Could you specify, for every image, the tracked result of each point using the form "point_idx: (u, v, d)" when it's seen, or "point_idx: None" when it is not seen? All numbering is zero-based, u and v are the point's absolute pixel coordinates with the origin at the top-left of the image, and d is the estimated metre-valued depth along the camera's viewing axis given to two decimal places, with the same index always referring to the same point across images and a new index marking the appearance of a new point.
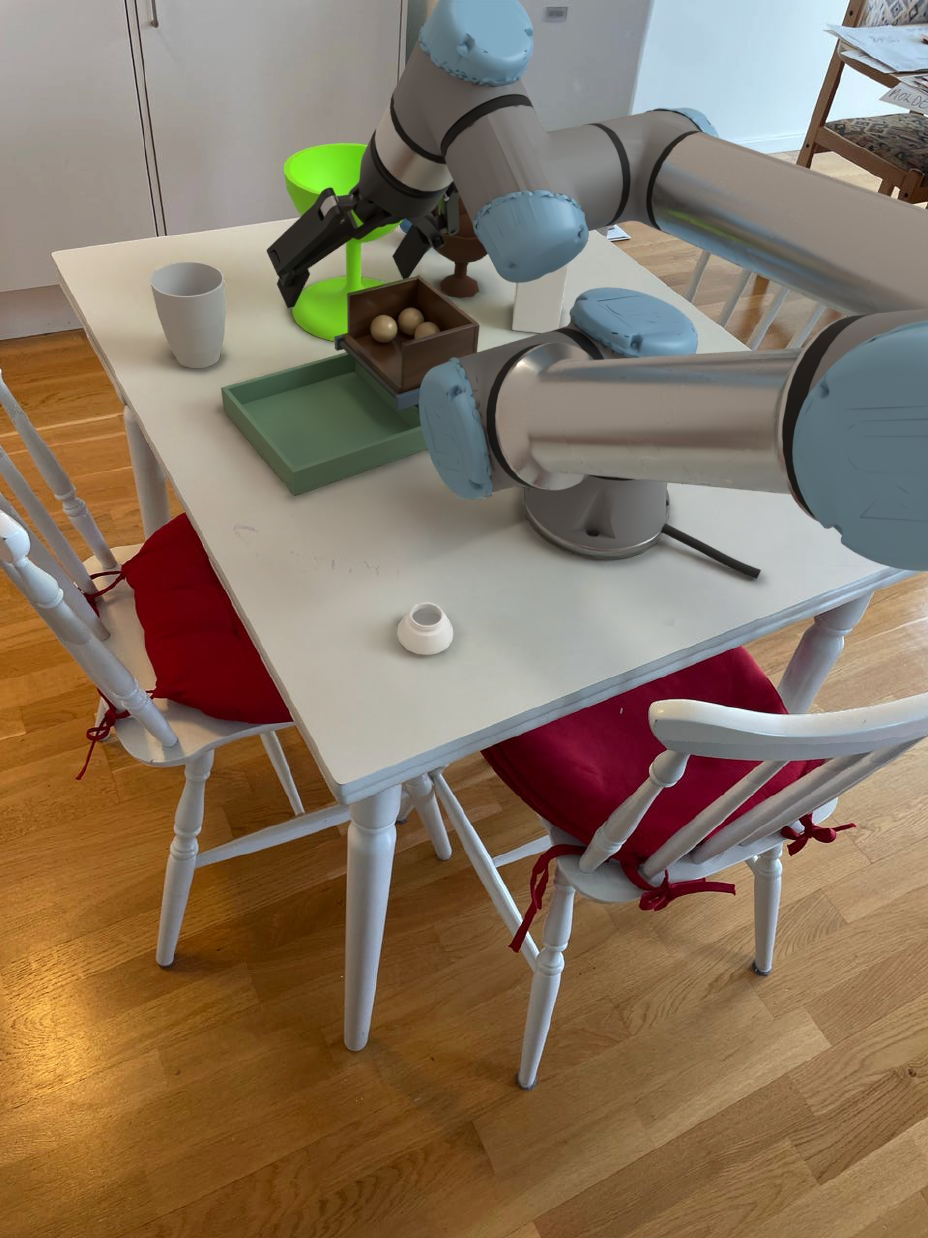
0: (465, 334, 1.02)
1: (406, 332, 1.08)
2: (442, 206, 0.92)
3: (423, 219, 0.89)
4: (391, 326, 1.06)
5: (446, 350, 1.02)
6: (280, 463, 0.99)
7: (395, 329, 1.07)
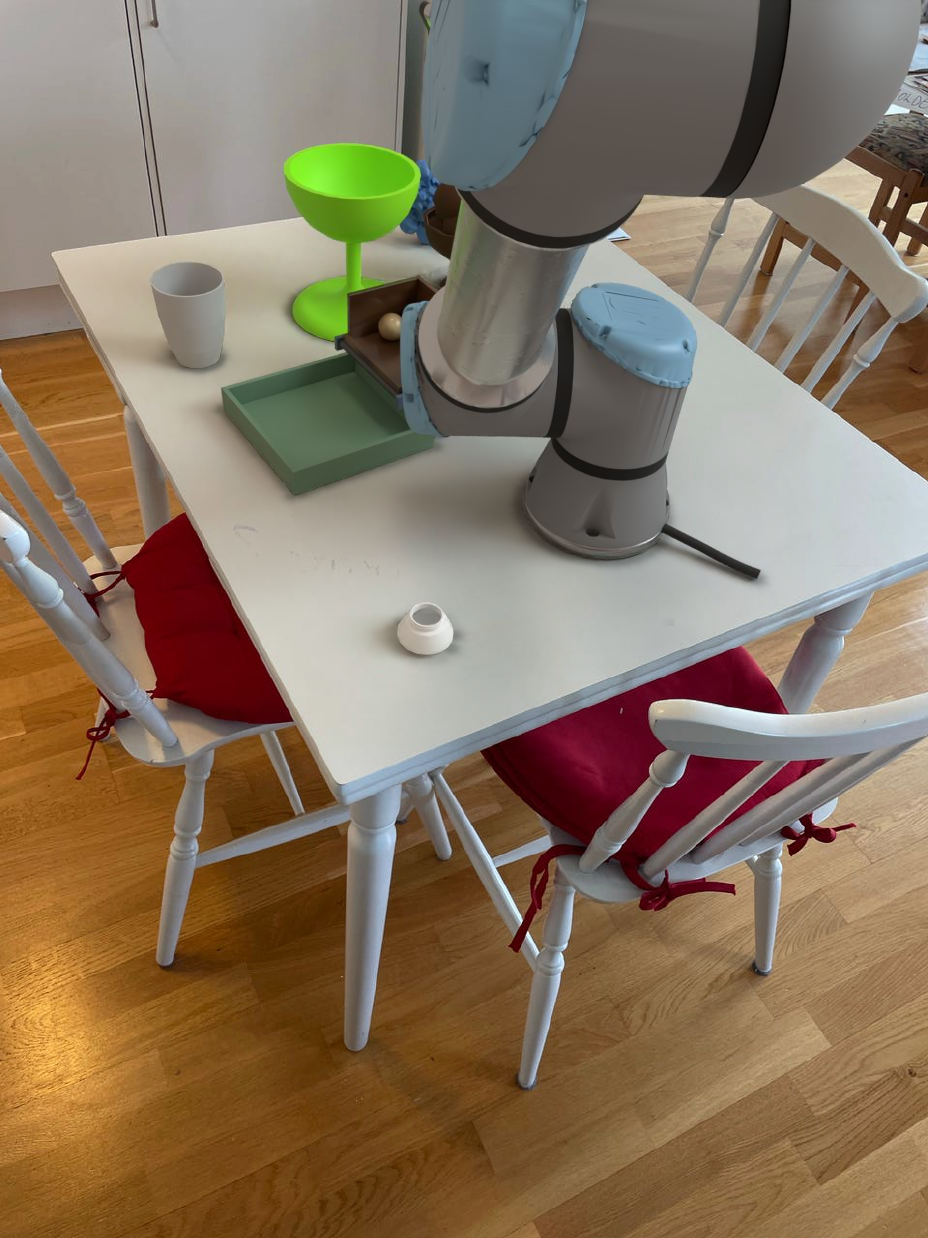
0: None
1: None
2: None
3: None
4: None
5: None
6: (280, 463, 0.99)
7: None
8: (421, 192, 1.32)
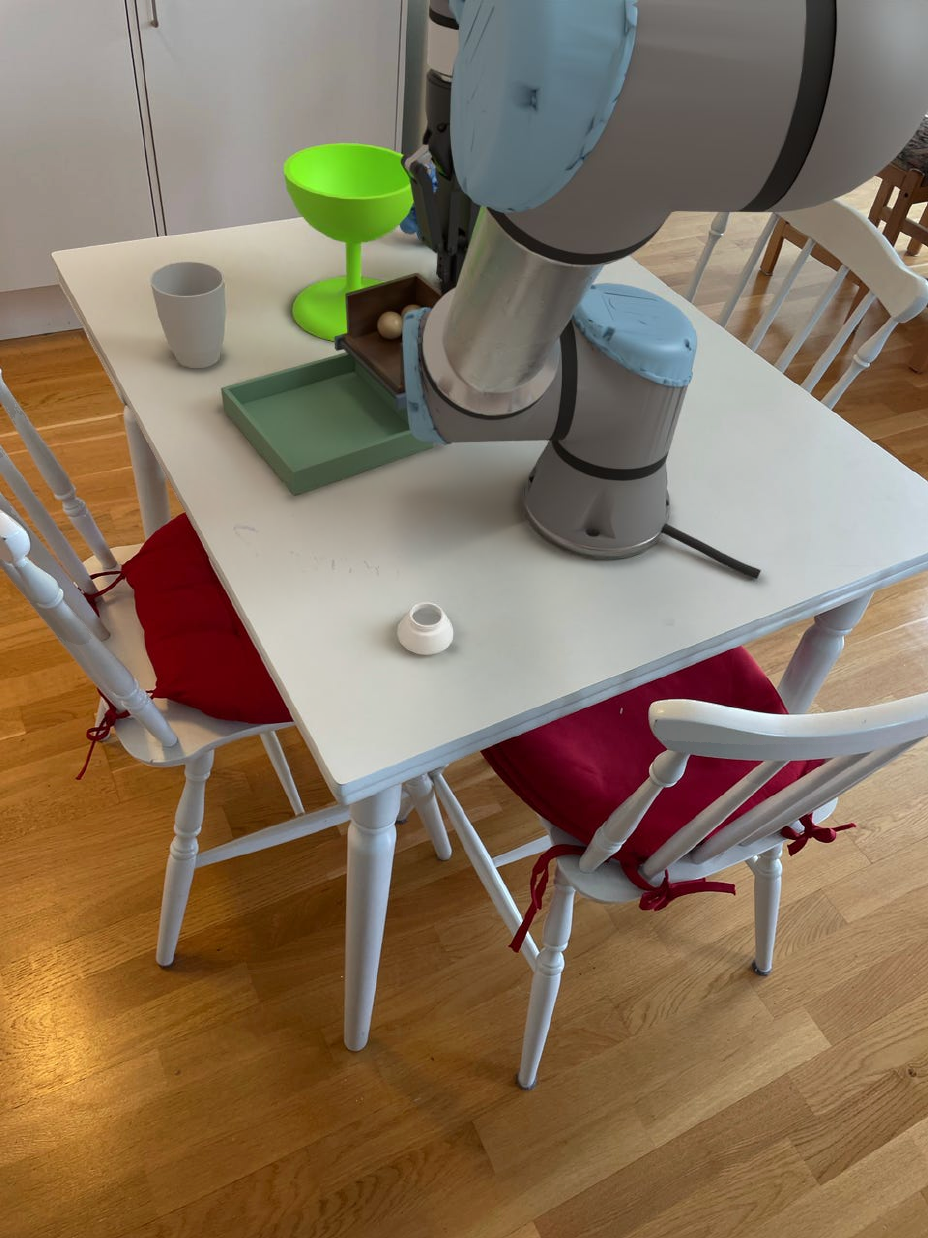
0: None
1: None
2: None
3: None
4: (401, 324, 1.07)
5: None
6: (280, 463, 0.99)
7: (402, 329, 1.07)
8: None
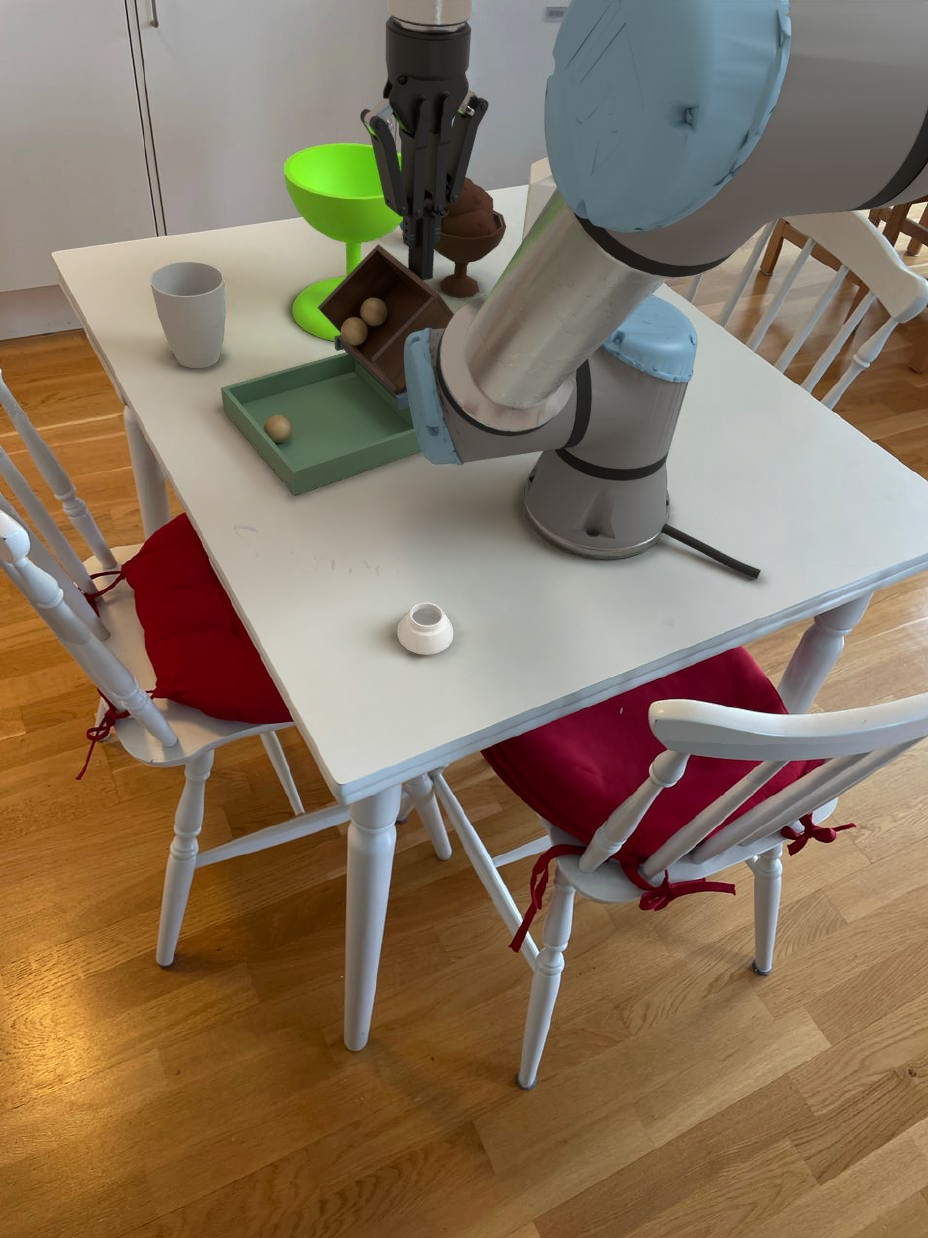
0: (430, 311, 0.97)
1: None
2: (455, 149, 0.93)
3: (450, 134, 0.90)
4: (353, 340, 1.04)
5: None
6: (280, 463, 0.99)
7: (354, 334, 1.04)
8: None
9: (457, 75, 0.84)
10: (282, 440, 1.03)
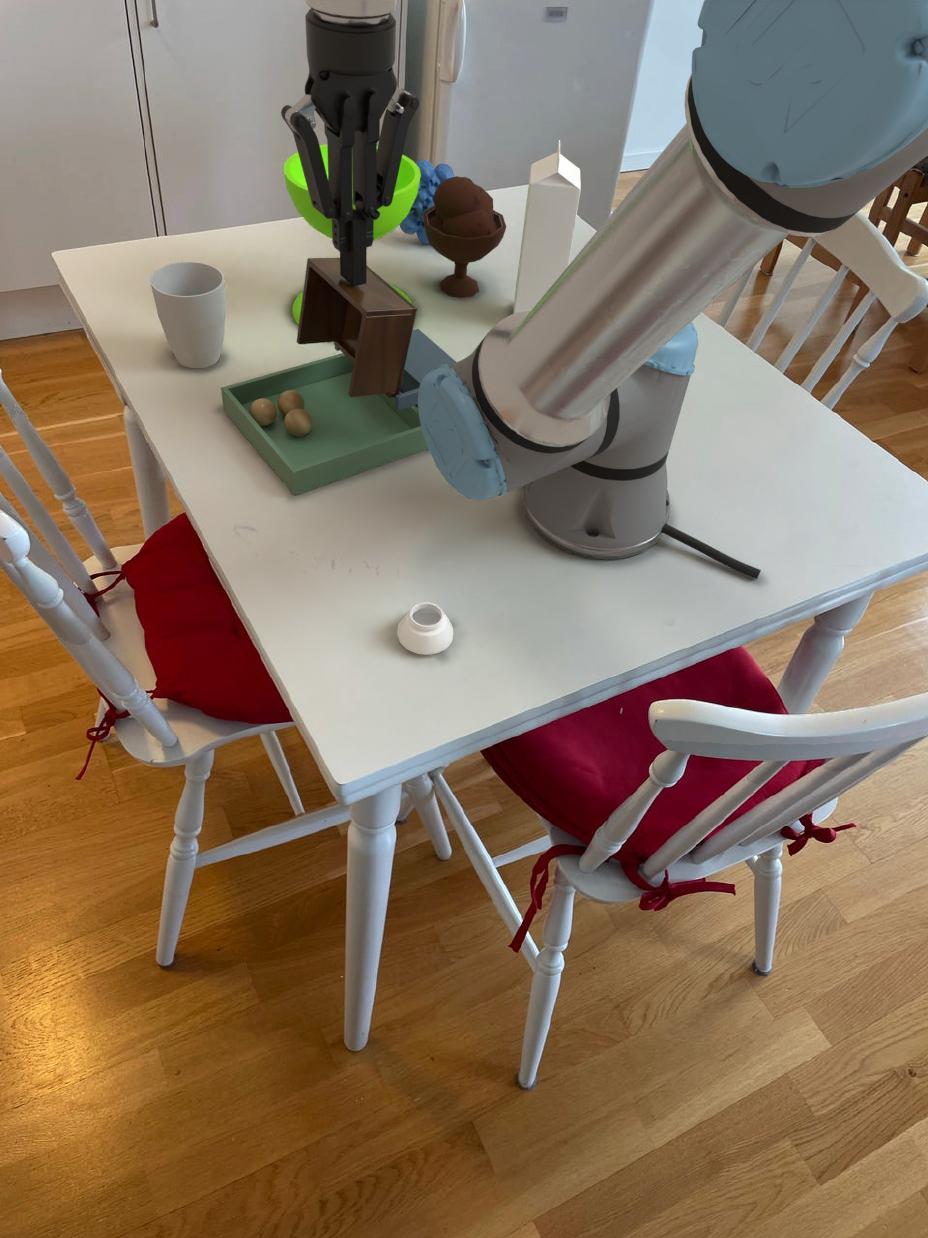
0: (369, 328, 0.94)
1: (276, 415, 1.05)
2: (385, 149, 0.89)
3: (378, 132, 0.86)
4: None
5: (376, 349, 0.96)
6: (280, 463, 0.99)
7: (290, 407, 1.05)
8: (421, 192, 1.32)
9: (381, 70, 0.80)
10: (299, 428, 1.03)
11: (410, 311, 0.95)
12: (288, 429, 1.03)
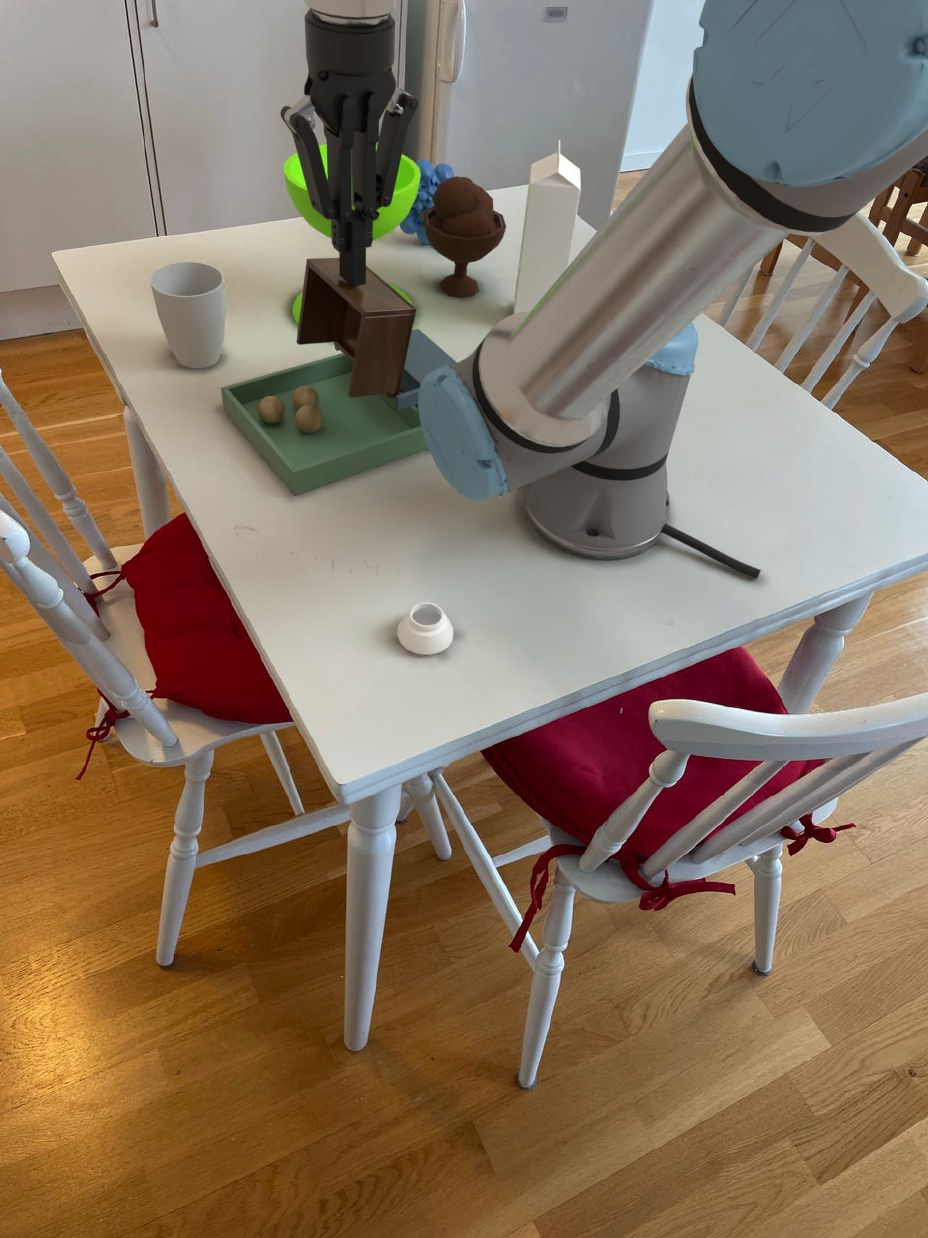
0: (369, 328, 0.94)
1: (281, 419, 1.06)
2: (384, 149, 0.89)
3: (377, 133, 0.86)
4: (306, 400, 1.06)
5: (376, 349, 0.96)
6: (280, 463, 0.99)
7: (312, 398, 1.06)
8: (421, 192, 1.32)
9: (381, 71, 0.80)
10: (312, 421, 1.03)
11: (409, 311, 0.95)
12: (301, 416, 1.03)
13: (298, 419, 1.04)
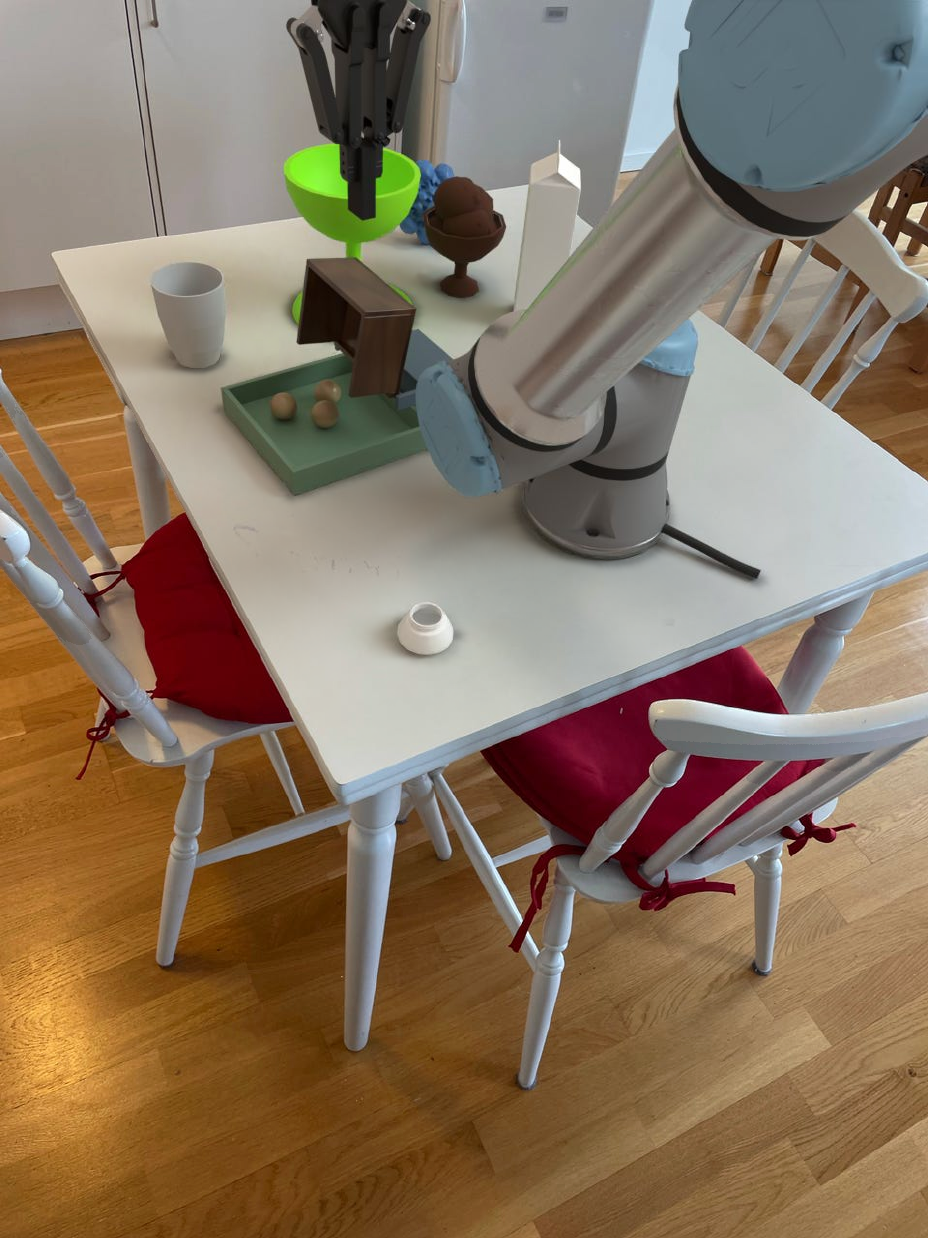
0: (369, 328, 0.94)
1: (283, 419, 1.06)
2: (395, 69, 0.84)
3: (388, 49, 0.81)
4: (339, 394, 1.08)
5: (376, 349, 0.96)
6: (280, 463, 0.99)
7: (338, 399, 1.08)
8: (421, 192, 1.32)
9: None
10: (335, 416, 1.05)
11: (409, 311, 0.95)
12: (332, 404, 1.05)
13: (327, 403, 1.04)
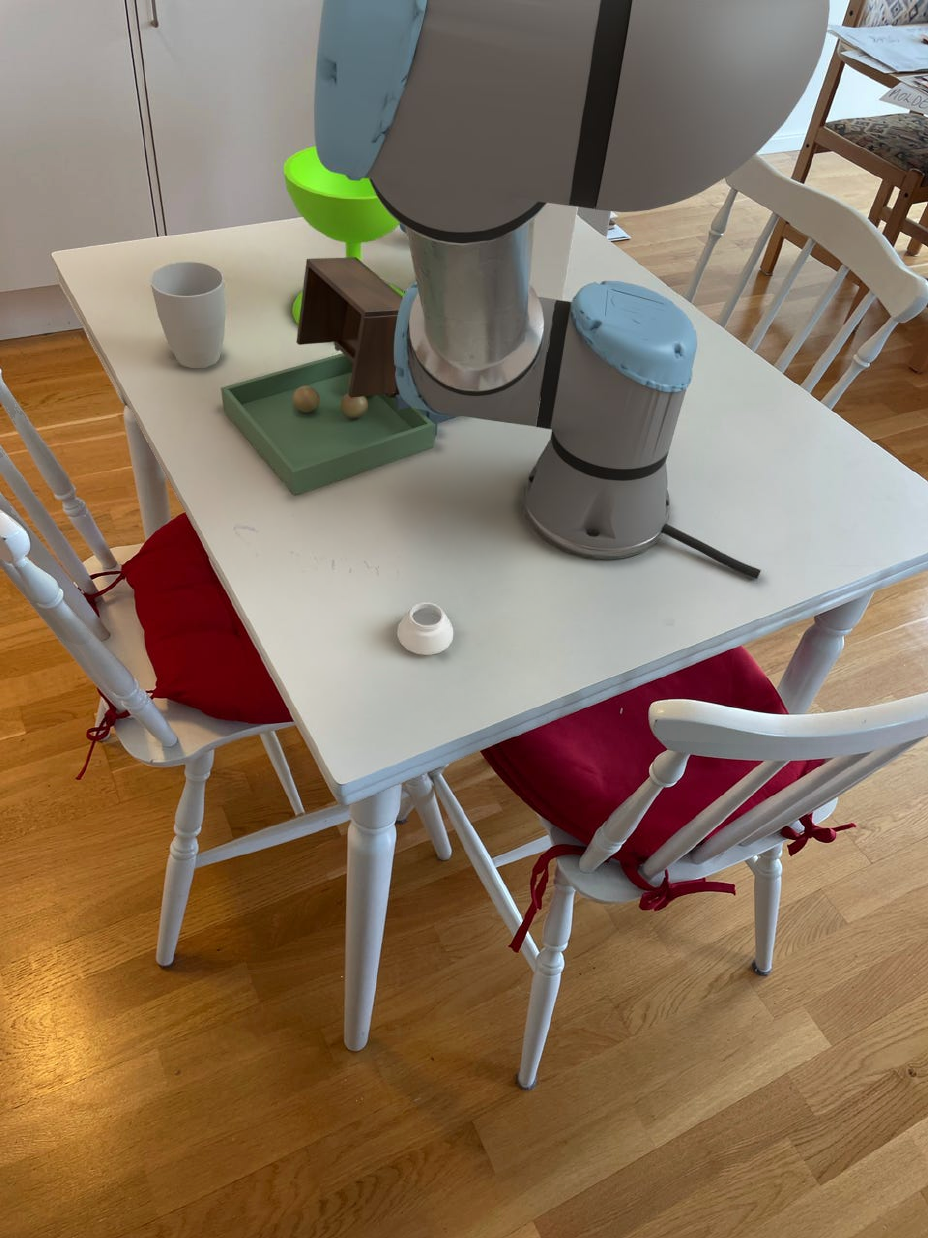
0: (369, 328, 0.94)
1: (300, 399, 1.06)
2: None
3: None
4: None
5: (376, 349, 0.96)
6: (280, 463, 0.99)
7: None
8: None
9: None
10: (358, 416, 1.07)
11: None
12: None
13: None
